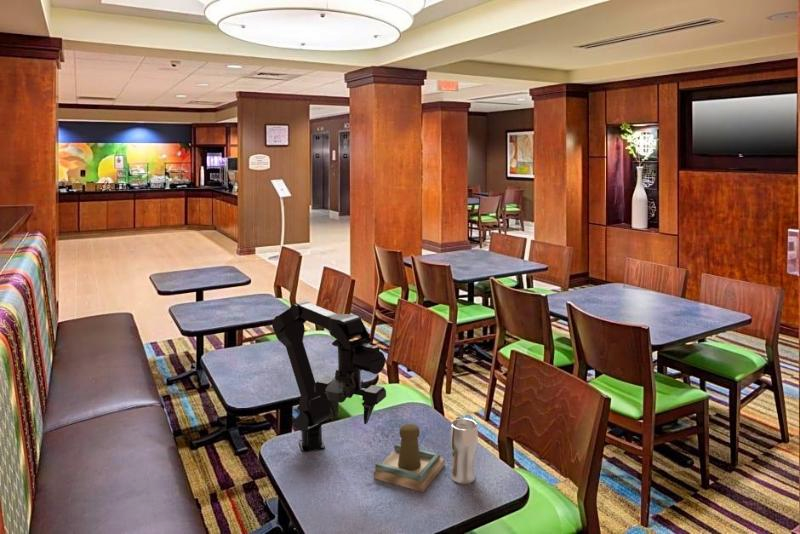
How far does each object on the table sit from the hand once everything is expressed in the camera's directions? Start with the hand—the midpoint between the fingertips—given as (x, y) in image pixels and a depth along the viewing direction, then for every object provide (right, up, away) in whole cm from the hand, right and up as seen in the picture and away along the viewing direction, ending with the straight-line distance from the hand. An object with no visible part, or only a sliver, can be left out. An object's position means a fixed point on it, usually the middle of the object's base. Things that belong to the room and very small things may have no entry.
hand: (350, 420), depth 157 cm
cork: (+15, -12, -1) cm, 19 cm away
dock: (+16, -13, 0) cm, 21 cm away
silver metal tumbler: (+29, -14, -3) cm, 33 cm away
